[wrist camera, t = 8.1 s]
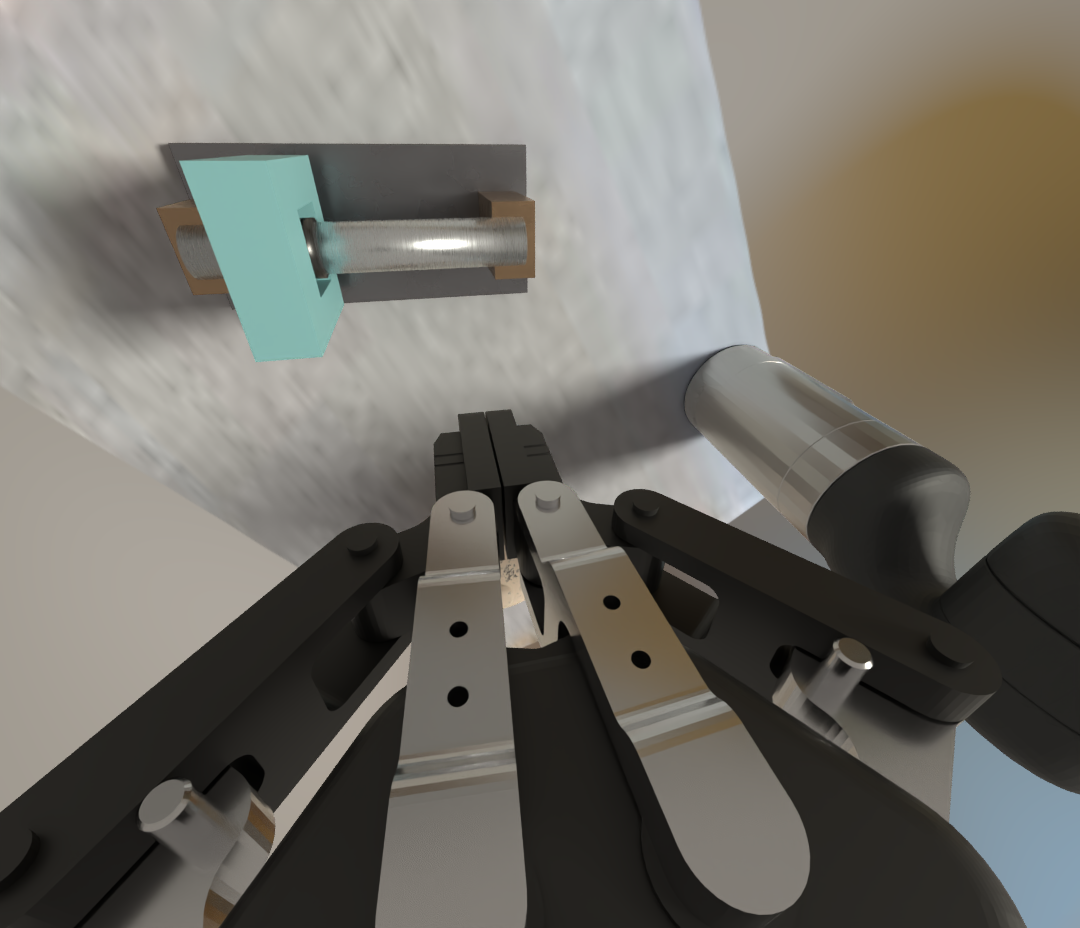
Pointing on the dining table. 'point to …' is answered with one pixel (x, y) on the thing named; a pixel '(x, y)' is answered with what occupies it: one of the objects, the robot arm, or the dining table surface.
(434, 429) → the dining table surface
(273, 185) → the collar
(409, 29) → the dining table surface
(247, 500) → the dining table surface
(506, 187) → the pipe rig
